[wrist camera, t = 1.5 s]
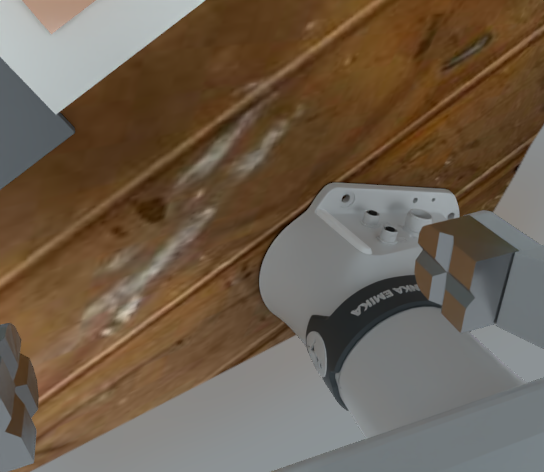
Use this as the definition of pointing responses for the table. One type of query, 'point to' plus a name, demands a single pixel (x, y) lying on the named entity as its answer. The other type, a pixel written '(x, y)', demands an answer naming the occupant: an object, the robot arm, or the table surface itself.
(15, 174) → the rubber mat
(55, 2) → the terracotta tile
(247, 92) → the table surface
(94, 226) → the table surface
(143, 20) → the white slab
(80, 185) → the table surface
